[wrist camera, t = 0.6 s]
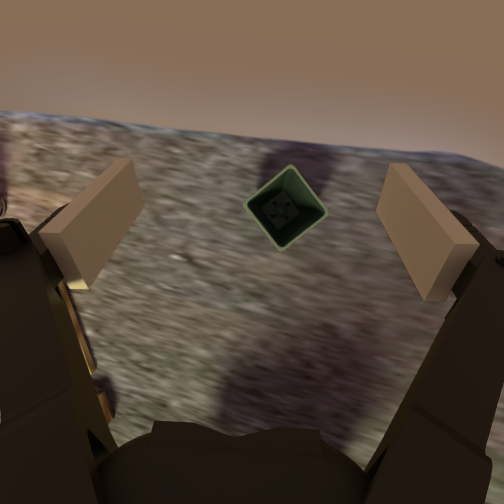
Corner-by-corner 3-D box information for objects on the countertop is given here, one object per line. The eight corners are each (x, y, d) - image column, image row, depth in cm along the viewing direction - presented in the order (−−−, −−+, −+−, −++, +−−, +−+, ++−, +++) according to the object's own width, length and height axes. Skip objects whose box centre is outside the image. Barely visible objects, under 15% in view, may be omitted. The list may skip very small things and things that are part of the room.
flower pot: (242, 206, 49) (241, 203, 40) (284, 172, 48) (291, 162, 39) (275, 246, 50) (280, 253, 41) (316, 214, 49) (331, 213, 40)
